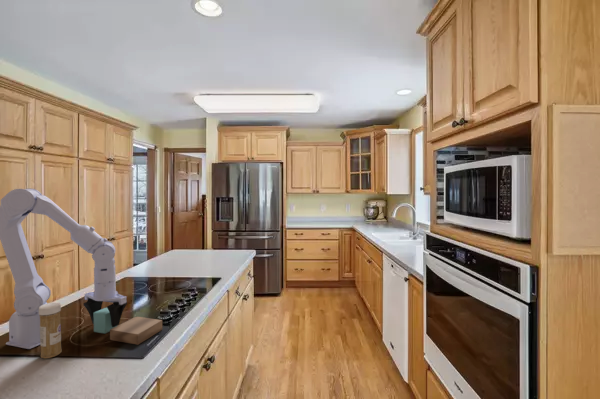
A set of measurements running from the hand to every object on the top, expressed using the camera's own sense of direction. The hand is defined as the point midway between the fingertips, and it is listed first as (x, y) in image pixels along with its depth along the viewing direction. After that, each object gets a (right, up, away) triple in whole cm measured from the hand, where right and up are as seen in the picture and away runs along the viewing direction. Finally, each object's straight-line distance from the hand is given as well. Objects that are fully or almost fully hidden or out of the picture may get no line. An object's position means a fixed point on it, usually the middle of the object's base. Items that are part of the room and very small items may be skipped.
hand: (105, 324), depth 100 cm
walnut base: (+12, -2, -3) cm, 12 cm away
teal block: (0, -2, 0) cm, 2 cm away
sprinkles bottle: (-5, -3, -15) cm, 16 cm away
